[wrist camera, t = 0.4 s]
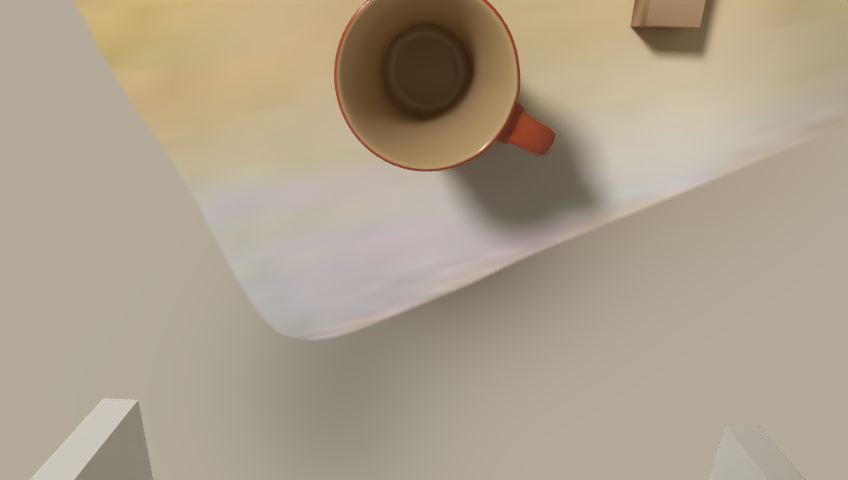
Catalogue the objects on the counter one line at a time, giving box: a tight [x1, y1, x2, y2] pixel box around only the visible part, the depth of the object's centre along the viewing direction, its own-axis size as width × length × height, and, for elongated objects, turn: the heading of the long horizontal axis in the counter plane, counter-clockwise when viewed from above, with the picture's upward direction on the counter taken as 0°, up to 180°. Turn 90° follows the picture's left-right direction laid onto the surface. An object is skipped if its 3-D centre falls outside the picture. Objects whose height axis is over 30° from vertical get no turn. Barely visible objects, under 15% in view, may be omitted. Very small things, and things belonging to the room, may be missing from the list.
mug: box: [334, 0, 558, 171], centre depth 29 cm, size 12×9×10 cm
